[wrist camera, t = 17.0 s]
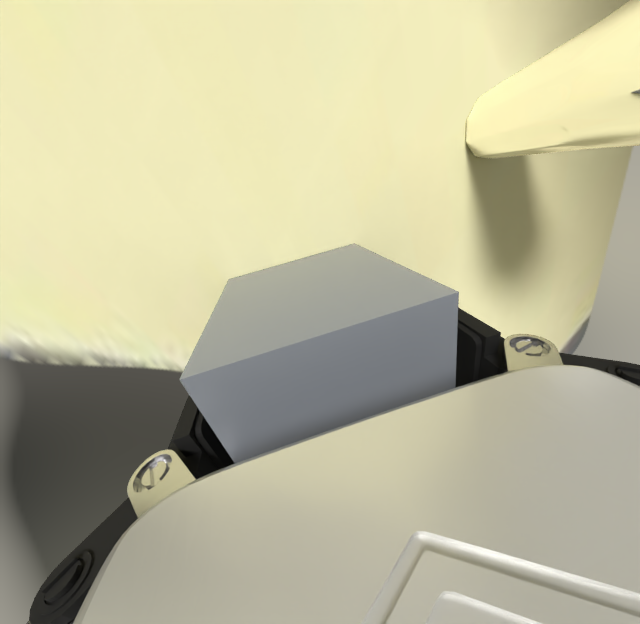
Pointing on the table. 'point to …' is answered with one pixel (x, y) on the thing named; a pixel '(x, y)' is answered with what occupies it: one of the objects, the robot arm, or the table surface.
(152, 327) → the table surface
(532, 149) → the milkshake
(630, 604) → the robot arm
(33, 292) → the table surface
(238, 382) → the grey cube
